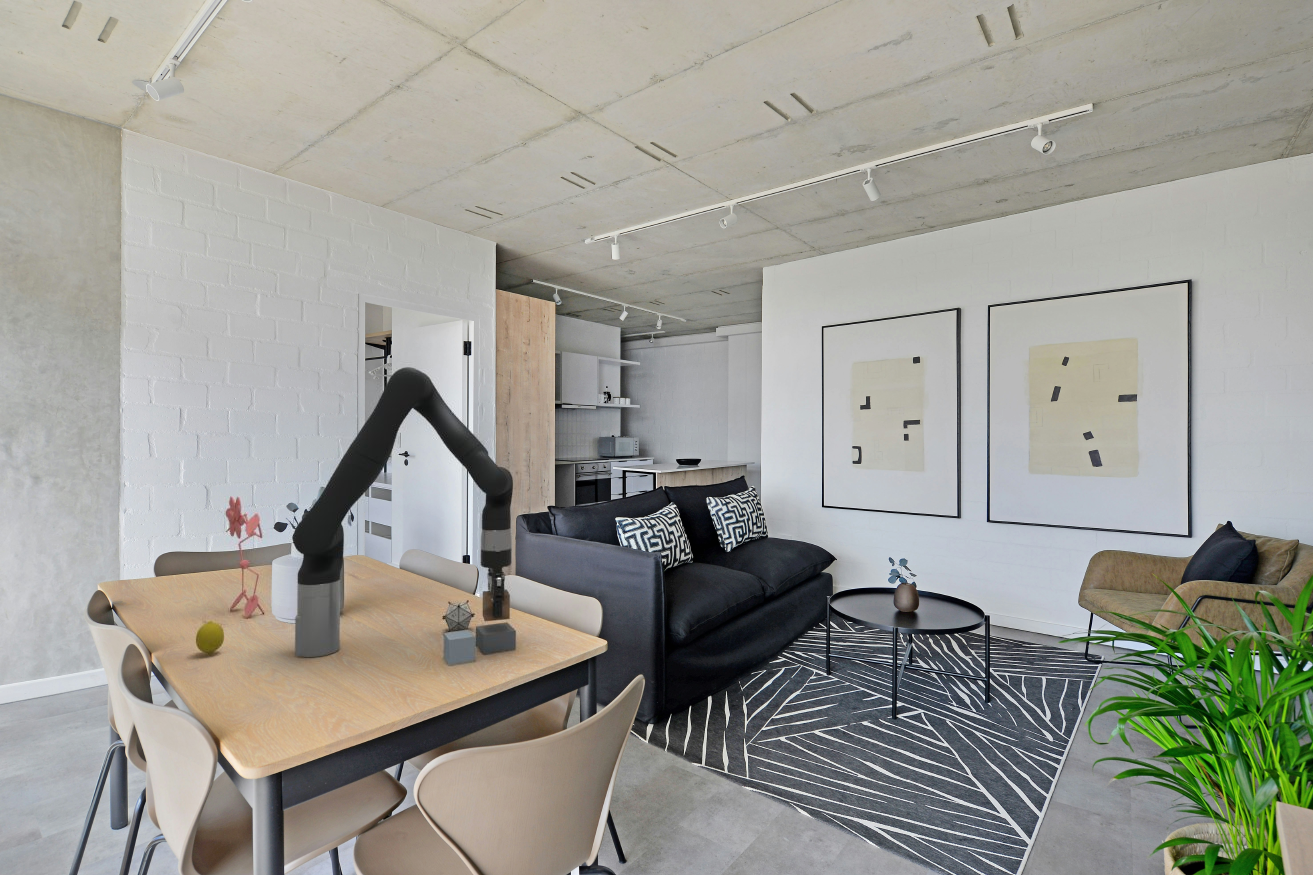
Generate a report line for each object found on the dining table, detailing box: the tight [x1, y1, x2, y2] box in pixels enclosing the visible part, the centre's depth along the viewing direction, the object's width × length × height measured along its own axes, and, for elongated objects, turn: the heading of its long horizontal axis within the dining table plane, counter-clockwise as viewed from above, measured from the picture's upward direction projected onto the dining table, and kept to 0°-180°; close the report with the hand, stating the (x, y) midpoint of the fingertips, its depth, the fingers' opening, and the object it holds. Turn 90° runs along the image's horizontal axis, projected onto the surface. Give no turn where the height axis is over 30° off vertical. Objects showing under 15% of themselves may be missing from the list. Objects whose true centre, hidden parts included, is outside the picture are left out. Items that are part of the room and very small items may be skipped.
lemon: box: [195, 620, 225, 656], centre depth 151 cm, size 6×6×8 cm
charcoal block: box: [475, 621, 517, 656], centre depth 158 cm, size 8×8×5 cm
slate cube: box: [443, 629, 476, 667], centre depth 149 cm, size 6×6×6 cm
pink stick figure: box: [225, 496, 265, 619], centre depth 183 cm, size 15×26×35 cm, turn 49°
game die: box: [442, 599, 476, 633], centre depth 171 cm, size 9×8×10 cm
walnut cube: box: [482, 589, 511, 622], centre depth 158 cm, size 6×6×6 cm
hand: (495, 613), depth 158 cm, fingers closed on walnut cube, 6 cm apart
